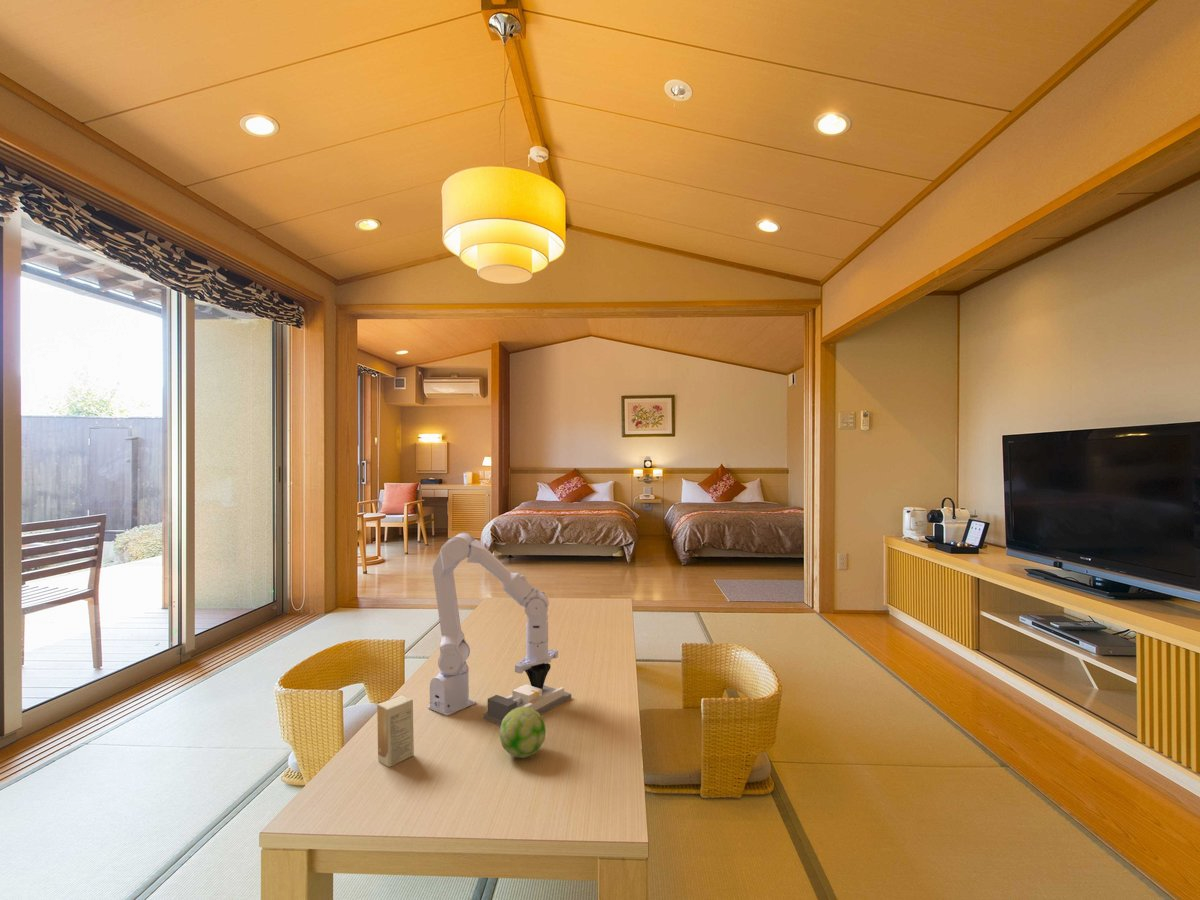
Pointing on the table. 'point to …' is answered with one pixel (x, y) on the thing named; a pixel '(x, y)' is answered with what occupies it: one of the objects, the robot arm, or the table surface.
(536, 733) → the decorative ball
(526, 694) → the gauge carriage
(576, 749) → the table surface
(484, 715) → the gauge base
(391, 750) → the skincare box
